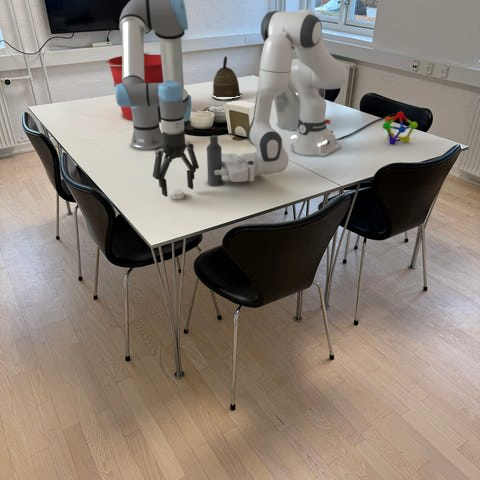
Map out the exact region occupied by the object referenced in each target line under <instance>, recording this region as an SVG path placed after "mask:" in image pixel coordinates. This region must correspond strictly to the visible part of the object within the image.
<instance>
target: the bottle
mask: <svg viewBox="0 0 480 480" xmlns="http://www.w3.org/2000/svg"><path fill="white" fill-rule="evenodd" d="M209 142H210V143H209V144H208V145H207V146H206V165H207V184H208V185H209V186H212V187H218V186H222V185H223V175H215V173H214V170H215V169H219V170H223V168H222V154H223V153H222V150H223V149H222V146H221V145H220V144H219V136H218V135H214V134H213V135H210V136H209Z"/></svg>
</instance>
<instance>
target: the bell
mask: <svg viewBox="0 0 480 480" xmlns="http://www.w3.org/2000/svg"><path fill="white" fill-rule="evenodd" d="M227 63H228V57H227V56H224V58H223V63H222V67H221V68H219V69H218V70H217V71H216V73H215V75H214V78H213V81H212V83H213V84H212V95H214V96H216V97H236V96H240V95H241V96H242V93H241V92H240V83H239V80H238V79H239V78H238V77H237V75H236V73H235V72H234V70H232V69H231V68H230V67H227Z"/></svg>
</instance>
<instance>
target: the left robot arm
mask: <svg viewBox="0 0 480 480" xmlns="http://www.w3.org/2000/svg"><path fill="white" fill-rule="evenodd" d="M118 25H119V26H118V28H119V31H120V34H121V56H122V83H121V84H117V85H116V87H114V92H115V99H116V100H115V101H116V103H117V106H118V107H120V108H121V107H131V110H132V117H133V120H132V125H133V132H132V135H131V142H130V143H131V147H132V148H134V149H135V150H141V151H151V150H153V151H154V154H155V159H154V165H153V171H152V177H153V178H154V179H155V180H158V187H159V188H160V189H161V194H162V196H164V197H165V198H167V197H168V196H169V195H168V185H167V178H165V177H166V174H167V172H168V170H169V167H170V164H171V163H172V162H173V160H175V159H179V158H180V159H181V160H182V161H183V163H184V165H185V166H186V168H187V170H186V180H187V183H186V184H187V188H188V189H190V190H194V180H195V173H196V172H197V170H198V169H199V168H200V166H199V163H198V159H197V156H196V154H195V151H194V148H195V146H194V144H193V143H192V142H189V141H188V142H187V143H186V134H185V132H186V131H185V125H186V124H189V123H190V122H189V120H191V113H192V95H191V94H188V90H186V89H185V84H184V83H185V82H184V67H183V65H184V63H183V50H182V48H183V47H182V38H183V37H184V36H185V34H186V33H185V31H187V30H188V29H189V24H188V16H187V10H186V5H185V1H184V0H130V1H128V2H127V4H125V6H124V7H123V9H122V11H121V14H120V16H119V23H118ZM147 31H154V35H155V37H156V38H158V41H159V50H160V55H161V62H162V73H163V83H145V79H144V53H145V43H144V40H145V39H144V38H145V37H144V36H145V35H146V32H147ZM208 107H209V106H207V107H206V108H204V109H203V110H202V111H204V112H205V111H206V110H208V109H209V108H208ZM207 108H208V109H207ZM160 126H161V127H160ZM186 150H187V153H188V156H189V158H190V160H189V159H188V157H187V155H186V153H185V151H186ZM163 156H164V157H163Z"/></svg>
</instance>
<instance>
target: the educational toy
mask: <svg viewBox="0 0 480 480" xmlns="http://www.w3.org/2000/svg"><path fill="white" fill-rule="evenodd" d="M385 117H386V116H385ZM397 119H399V124H400V125H399V127H398V126H393V125H391V124H392V123H394V122H395V121H396V120H397ZM403 120H404V121H405V122H407V123H408V124H409V125H407V126H404V123H403ZM417 127H418V122H417V121H411V120H410V119H409V118H408V117H406V116H405V113H404V112H403V111H401V110H400V111H398V112H397V113H396V116H395V115H393V116H390V117H386V118H384V122H383V123H382V129H383V130H386V132H387V138H388V142H389V145H395V144H396V143H397V142H402V141H403V142H404V143H409V142H410V140H411V138H410V136H411V134H412V132H413V131H414V130H415V129H417ZM392 129H393V130H397V131H398V132H396V134H395V133H394V132H392ZM408 129H409V131H408V133H407V134H406V135H404V136H401V134H403V133H405V132H406V130H408ZM399 135H400V136H399Z"/></svg>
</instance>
